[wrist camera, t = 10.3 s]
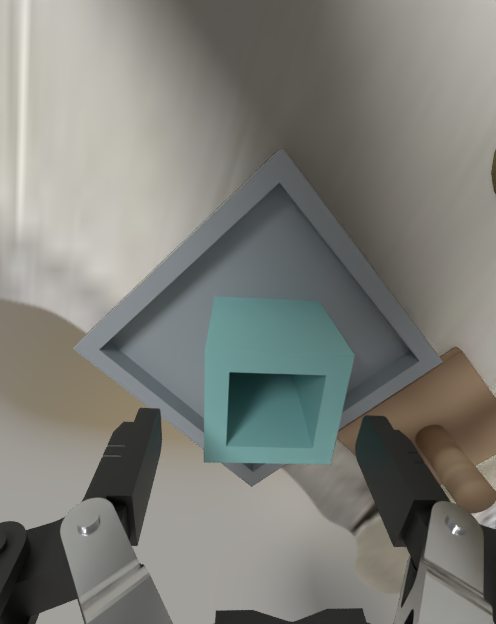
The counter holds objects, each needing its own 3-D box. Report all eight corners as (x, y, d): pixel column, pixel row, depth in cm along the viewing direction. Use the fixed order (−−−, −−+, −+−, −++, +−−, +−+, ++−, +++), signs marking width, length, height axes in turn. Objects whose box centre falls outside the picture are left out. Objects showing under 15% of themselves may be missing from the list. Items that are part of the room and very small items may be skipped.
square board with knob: (331, 428, 23) (357, 499, 18) (456, 346, 21) (526, 401, 16) (402, 497, 26) (441, 573, 21) (517, 432, 24) (592, 501, 19)
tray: (88, 332, 20) (72, 348, 18) (277, 150, 16) (282, 147, 14) (250, 463, 24) (251, 486, 23) (424, 345, 21) (442, 361, 19)
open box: (214, 296, 18) (204, 349, 13) (319, 301, 18) (354, 355, 13) (212, 403, 21) (203, 485, 16) (302, 406, 21) (325, 486, 16)
